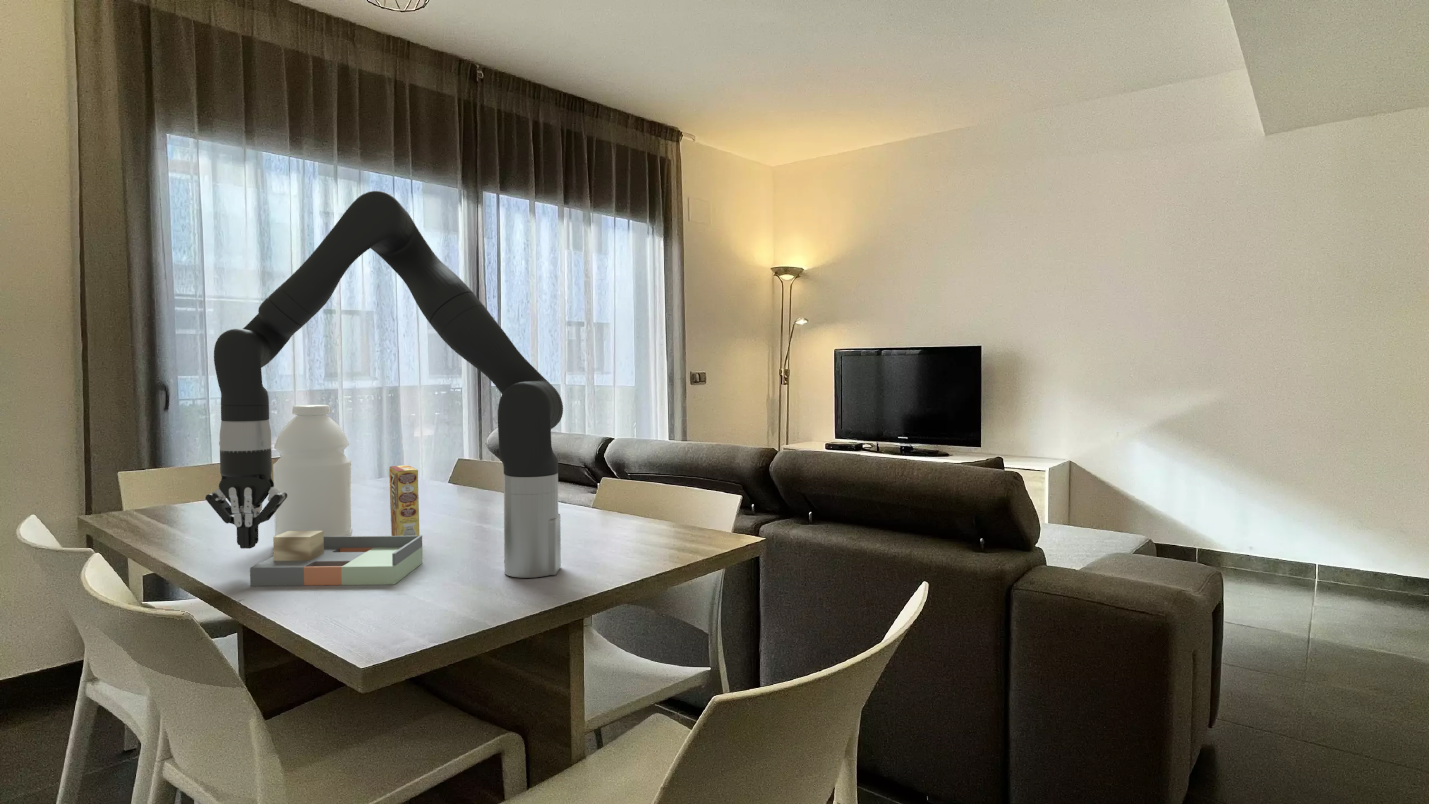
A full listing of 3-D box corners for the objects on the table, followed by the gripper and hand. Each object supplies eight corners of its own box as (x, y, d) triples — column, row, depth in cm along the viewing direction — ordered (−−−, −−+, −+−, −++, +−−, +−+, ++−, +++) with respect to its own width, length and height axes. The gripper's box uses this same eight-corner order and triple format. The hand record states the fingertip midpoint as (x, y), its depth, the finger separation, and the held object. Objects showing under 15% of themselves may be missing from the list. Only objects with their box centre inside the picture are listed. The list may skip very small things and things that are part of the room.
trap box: (422, 562, 140) (422, 535, 139) (394, 584, 126) (394, 554, 126) (292, 564, 138) (292, 536, 138) (250, 586, 124) (249, 555, 124)
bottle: (262, 552, 147) (259, 407, 146) (289, 536, 161) (287, 403, 160) (340, 549, 150) (337, 406, 148) (360, 534, 163) (358, 403, 162)
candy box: (420, 545, 154) (419, 469, 153) (398, 547, 151) (397, 470, 151) (410, 537, 161) (409, 464, 160) (389, 539, 159) (388, 465, 158)
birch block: (323, 553, 134) (323, 530, 134) (310, 560, 129) (309, 536, 129) (288, 553, 134) (288, 530, 134) (273, 560, 129) (273, 537, 129)
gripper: (296, 444, 134) (298, 542, 135) (219, 444, 134) (220, 542, 135) (274, 449, 127) (276, 552, 128) (192, 449, 126) (194, 553, 127)
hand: (247, 547), depth 131 cm, fingers closed
